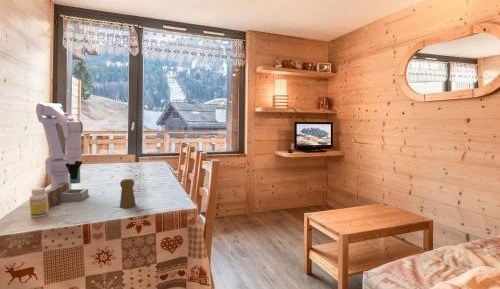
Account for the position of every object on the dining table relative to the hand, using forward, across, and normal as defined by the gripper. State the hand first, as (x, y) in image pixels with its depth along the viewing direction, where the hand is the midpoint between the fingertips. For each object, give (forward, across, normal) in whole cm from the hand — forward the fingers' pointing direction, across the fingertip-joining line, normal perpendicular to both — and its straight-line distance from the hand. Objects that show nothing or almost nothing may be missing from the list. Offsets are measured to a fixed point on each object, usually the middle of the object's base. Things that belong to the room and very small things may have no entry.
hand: (74, 178), depth 130 cm
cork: (+9, +23, +21) cm, 33 cm away
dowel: (+2, 0, 0) cm, 2 cm away
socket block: (+9, 0, 0) cm, 9 cm away
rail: (+9, +4, -7) cm, 12 cm away
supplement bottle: (+9, +23, -8) cm, 26 cm away
